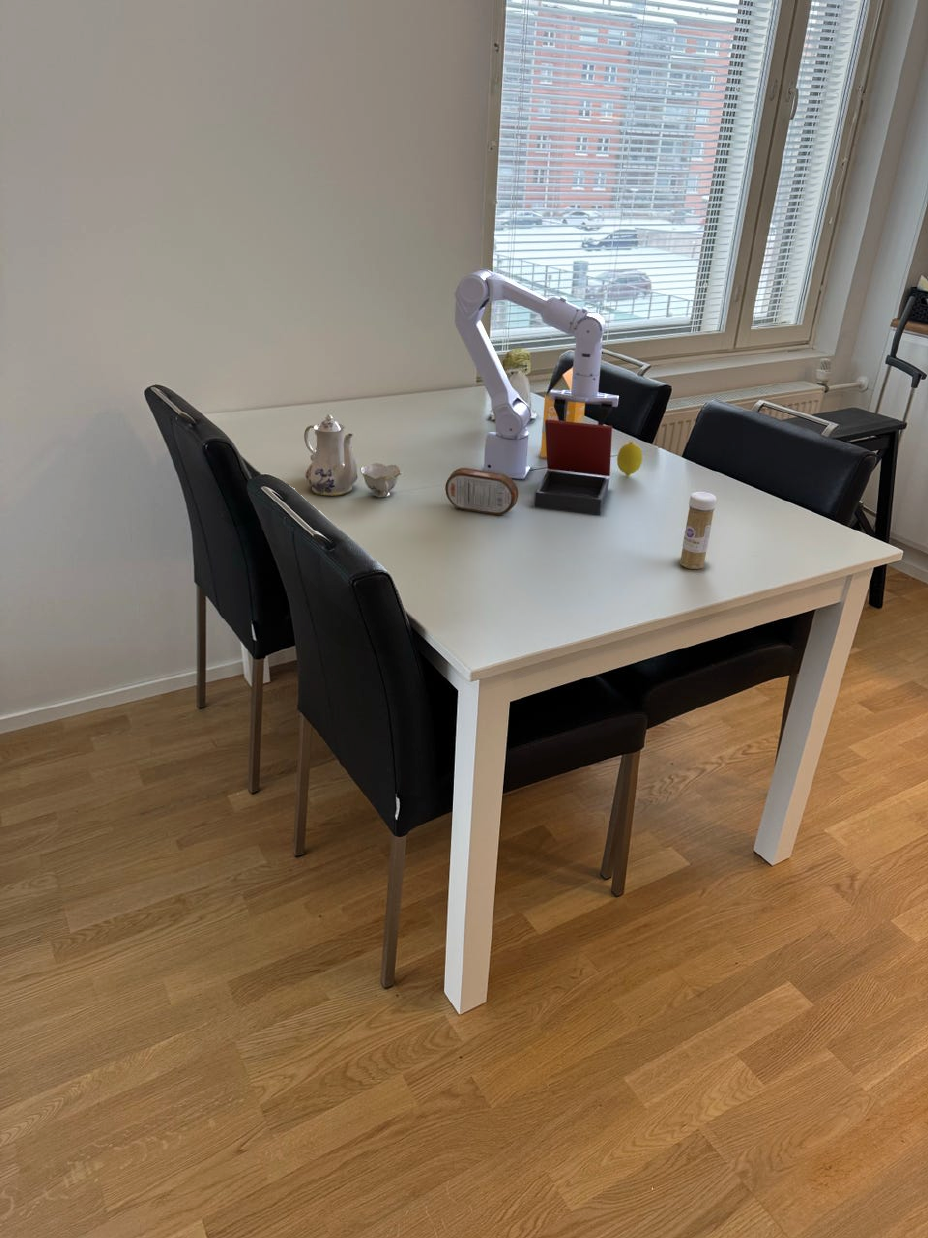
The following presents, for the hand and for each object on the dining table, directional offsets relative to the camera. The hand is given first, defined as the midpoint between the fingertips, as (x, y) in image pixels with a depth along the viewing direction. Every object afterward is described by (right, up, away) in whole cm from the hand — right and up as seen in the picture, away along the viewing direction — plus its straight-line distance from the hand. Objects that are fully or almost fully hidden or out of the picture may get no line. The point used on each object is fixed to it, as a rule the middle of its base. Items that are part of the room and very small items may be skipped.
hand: (580, 435), depth 200 cm
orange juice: (-2, 0, +21) cm, 21 cm away
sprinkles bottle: (+16, -30, -33) cm, 47 cm away
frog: (-12, +14, +47) cm, 50 cm away
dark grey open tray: (-2, -14, -5) cm, 16 cm away
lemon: (+12, -7, +9) cm, 17 cm away
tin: (-22, -18, -13) cm, 31 cm away
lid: (-2, -5, -8) cm, 9 cm away
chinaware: (-51, -12, -3) cm, 53 cm away
